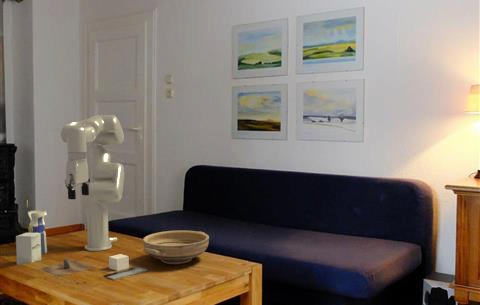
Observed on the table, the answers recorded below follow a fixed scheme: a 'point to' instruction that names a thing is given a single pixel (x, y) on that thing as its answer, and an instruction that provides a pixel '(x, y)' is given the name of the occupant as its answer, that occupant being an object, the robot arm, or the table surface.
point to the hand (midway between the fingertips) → (78, 197)
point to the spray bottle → (38, 226)
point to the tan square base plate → (66, 268)
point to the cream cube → (119, 262)
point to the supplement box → (28, 247)
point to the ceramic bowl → (176, 245)
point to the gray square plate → (125, 273)
